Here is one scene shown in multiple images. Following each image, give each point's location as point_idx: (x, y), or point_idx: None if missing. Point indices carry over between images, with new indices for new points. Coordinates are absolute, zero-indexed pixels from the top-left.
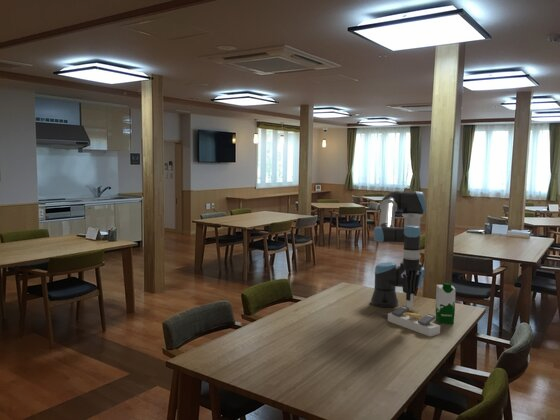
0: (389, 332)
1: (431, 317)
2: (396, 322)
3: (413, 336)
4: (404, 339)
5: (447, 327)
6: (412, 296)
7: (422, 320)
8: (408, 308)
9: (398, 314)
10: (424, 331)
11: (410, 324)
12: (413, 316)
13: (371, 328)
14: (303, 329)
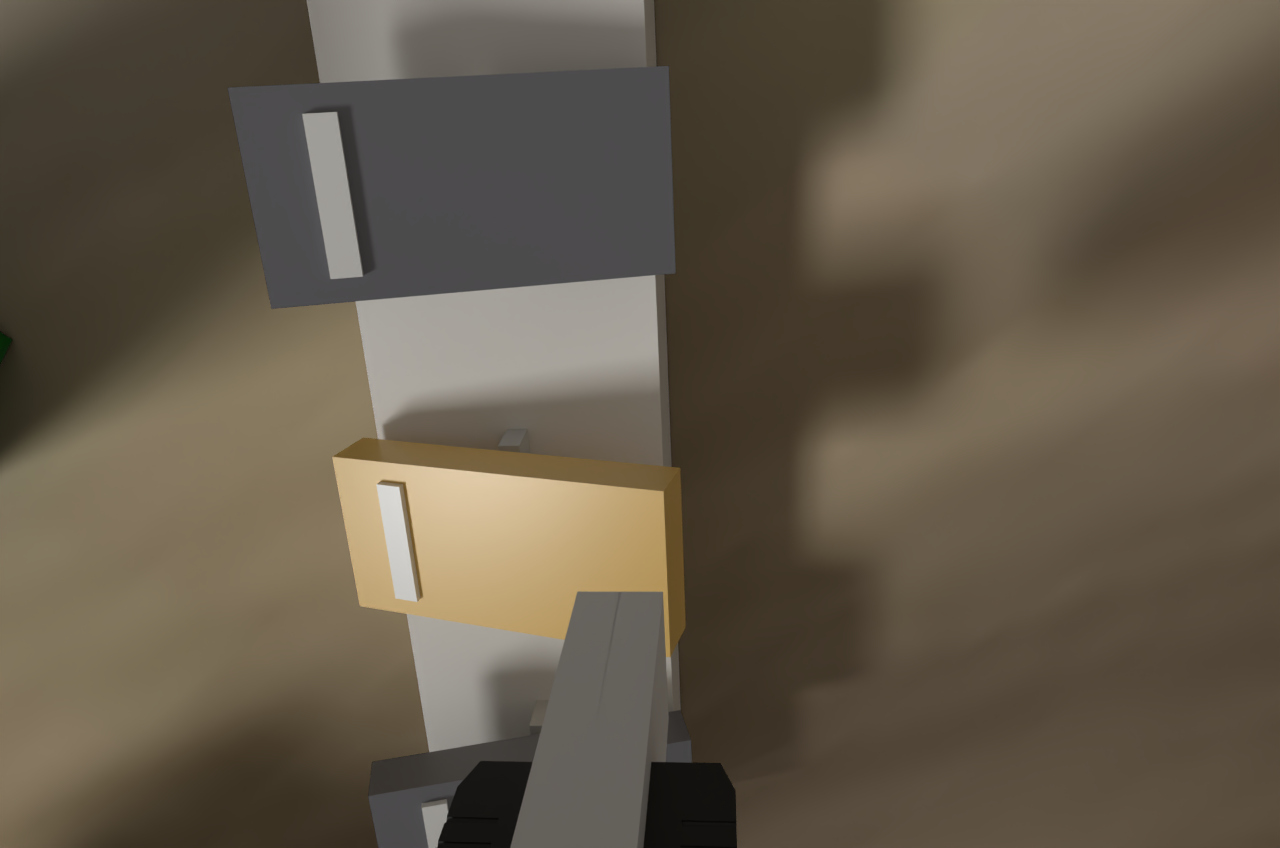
0: (1081, 469)
1: (353, 121)
2: (678, 668)
3: (908, 117)
4: (1180, 92)
5: (5, 119)
6: (562, 836)
7: (599, 198)
8: (382, 781)
9: (676, 734)
10: None
11: (665, 423)
12: (597, 465)
13: (1150, 717)
14: None
